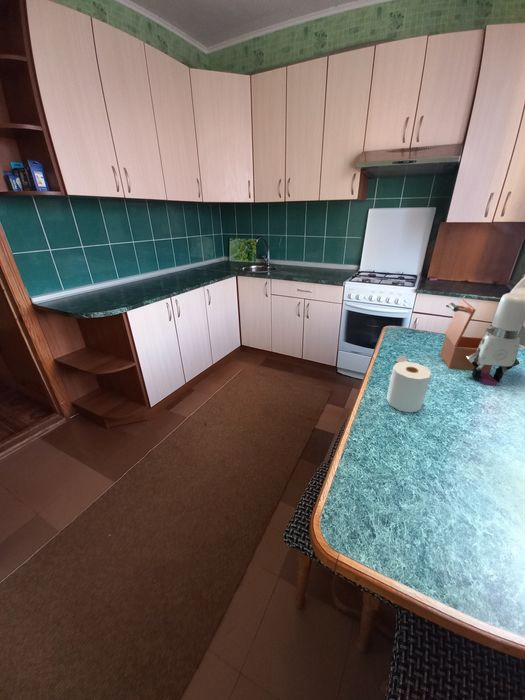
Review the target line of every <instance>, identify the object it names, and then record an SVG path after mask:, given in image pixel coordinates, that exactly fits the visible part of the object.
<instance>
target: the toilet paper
mask: <svg viewBox="0 0 525 700" xmlns="http://www.w3.org/2000/svg"><path fill="white" fill-rule="evenodd" d="M391 374H392V375H391ZM391 374H390V376H391V380H390V381H389V384H388V390H387V393H386V394H387V395H386V401H387V402H388V405H389V406H391V407H392V408H395V410H398V411H400V412H405V413H410V414H412V413H415V412H420V411H421V409H422V407H423V404H424V401H425V397H426V394H427V390H428V386H429V383H430V381H431V380H430V379H431V376H432V371H431V370H430V369H429V368H428V367H427V366H425V365H422V364H421V363H418V362H412V361H408V362H406V361H404V362H395V364H394V365H393V366H392V370H391Z"/></svg>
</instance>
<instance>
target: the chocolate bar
mask: <svg viewBox="0 0 525 700" xmlns="http://www.w3.org/2000/svg"><path fill="white" fill-rule="evenodd" d="M493 376H494V375H492V374H491V373H490V372H484V371H482V372H481V374H480V377H479V380H478V381H480V383H481V385H484V386H493V387H497V385H498V383H499V382H497V381H496V380H495V379H494V378H493Z"/></svg>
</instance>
